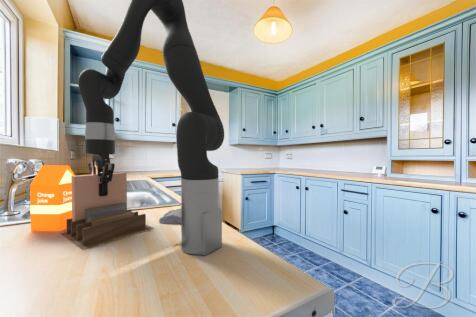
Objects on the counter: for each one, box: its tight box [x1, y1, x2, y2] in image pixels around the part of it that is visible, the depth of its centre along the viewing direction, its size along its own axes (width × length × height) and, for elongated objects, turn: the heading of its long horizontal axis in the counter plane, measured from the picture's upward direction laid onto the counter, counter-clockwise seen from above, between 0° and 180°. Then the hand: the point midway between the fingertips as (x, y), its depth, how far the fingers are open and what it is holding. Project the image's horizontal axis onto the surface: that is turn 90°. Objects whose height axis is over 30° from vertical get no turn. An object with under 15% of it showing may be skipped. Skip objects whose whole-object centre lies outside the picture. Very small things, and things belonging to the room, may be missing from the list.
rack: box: [59, 209, 155, 251], centre depth 60 cm, size 18×18×5 cm
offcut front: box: [91, 210, 135, 226], centre depth 58 cm, size 3×10×5 cm, turn 144°
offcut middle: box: [85, 203, 128, 223], centre depth 61 cm, size 3×10×7 cm, turn 144°
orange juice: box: [29, 164, 76, 232], centre depth 64 cm, size 8×9×20 cm
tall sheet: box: [71, 172, 128, 222], centre depth 63 cm, size 2×14×16 cm, turn 144°
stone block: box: [158, 208, 181, 225], centre depth 72 cm, size 12×5×10 cm
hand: (101, 195), depth 63 cm, fingers closed on tall sheet, 2 cm apart
